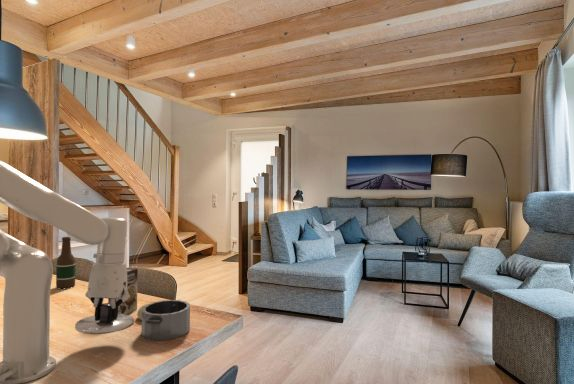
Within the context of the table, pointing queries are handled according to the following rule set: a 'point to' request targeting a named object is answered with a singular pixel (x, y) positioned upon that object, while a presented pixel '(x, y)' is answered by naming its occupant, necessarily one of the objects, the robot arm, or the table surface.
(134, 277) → the coffee box
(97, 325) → the lid
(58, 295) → the table surface
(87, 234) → the robot arm
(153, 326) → the pot
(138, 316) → the sea urchin shell
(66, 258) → the beer bottle
